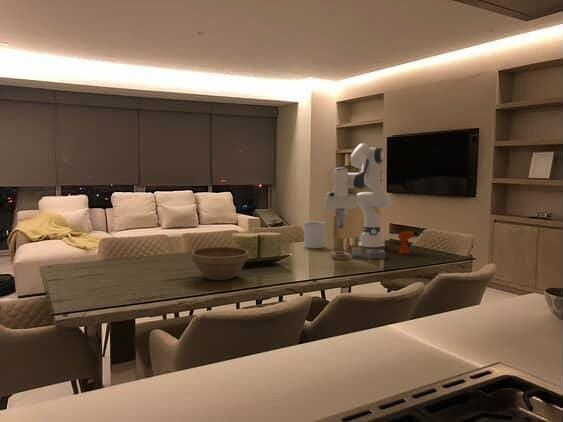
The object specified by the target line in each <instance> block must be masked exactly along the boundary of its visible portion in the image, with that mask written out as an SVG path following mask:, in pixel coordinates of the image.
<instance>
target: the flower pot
mask: <svg viewBox="0 0 563 422" xmlns="http://www.w3.org/2000/svg"><path fill="white" fill-rule="evenodd" d="M190 254H191V255H190V258H191V261H193V262H194V264H195V266H196V267H197V269H198V270H199V271H200V272H201V273H202V274H203V275H204V276H205V277H206V279H208V280H213V281H225V280H231V279H234V278H235V276H236V275H237V274H238V273H239V272H240V270H242V268H243V267H244V266H245V263H246V261H248V260H249V257H250V256H249V250H247V249H245V248H240V247H235V246H211V247H202V248H198V249H197V248H196V249H194V250H192V251H191V253H190Z"/></svg>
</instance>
